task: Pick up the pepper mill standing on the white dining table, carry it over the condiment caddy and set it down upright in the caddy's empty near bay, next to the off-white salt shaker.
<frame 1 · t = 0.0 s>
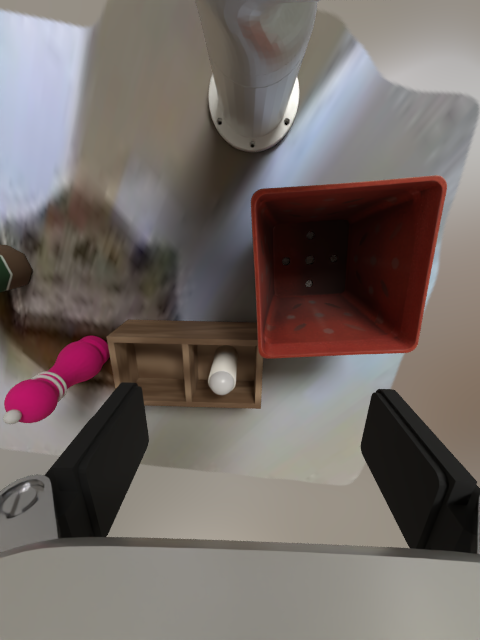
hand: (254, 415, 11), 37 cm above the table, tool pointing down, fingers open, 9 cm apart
plant pot: (307, 260, 45), on the table
beer bottle: (13, 266, 46), on the table
caddy: (195, 352, 51), on the table
salt shaker: (226, 355, 50), point 1 cm above the table, touching caddy
pepper mill: (95, 349, 51), on the table
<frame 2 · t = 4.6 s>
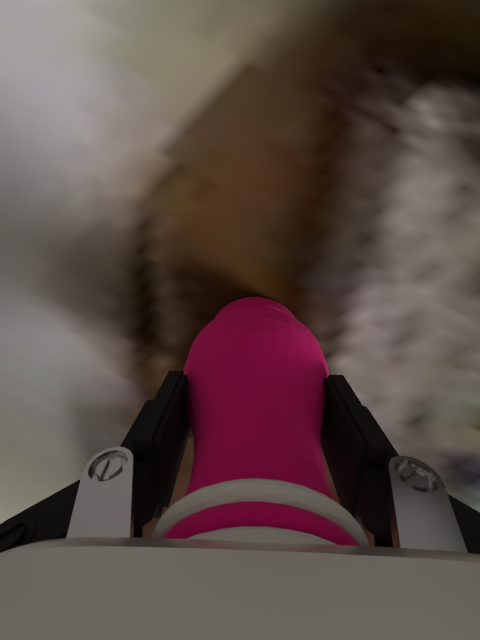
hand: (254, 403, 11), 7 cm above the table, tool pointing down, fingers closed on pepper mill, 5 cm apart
caddy: (247, 535, 24), on the table
pepper mill: (254, 339, 18), on the table, touching gripper
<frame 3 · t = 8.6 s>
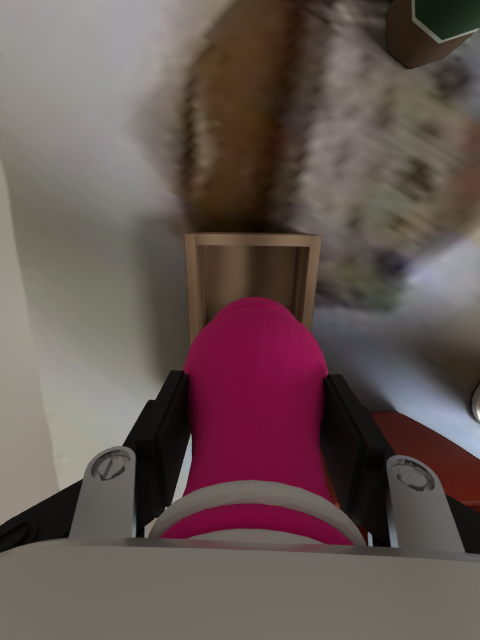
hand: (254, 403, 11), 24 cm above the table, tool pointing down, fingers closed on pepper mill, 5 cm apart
plant pot: (354, 441, 43), on the table
beer bottle: (421, 23, 25), on the table
caddy: (248, 326, 36), on the table
pepper mill: (254, 339, 18), point 18 cm above the table, touching gripper
when the fingers open (9 cm above the table, at t = 12.1 s): pepper mill drops 1 cm, resting on caddy.
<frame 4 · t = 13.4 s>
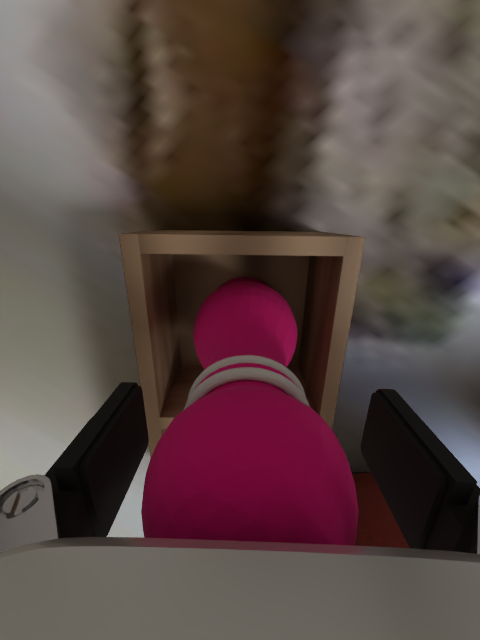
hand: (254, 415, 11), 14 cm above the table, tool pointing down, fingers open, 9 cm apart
plant pot: (380, 504, 33), on the table
caddy: (239, 365, 26), on the table
pepper mill: (244, 311, 23), point 1 cm above the table, touching caddy
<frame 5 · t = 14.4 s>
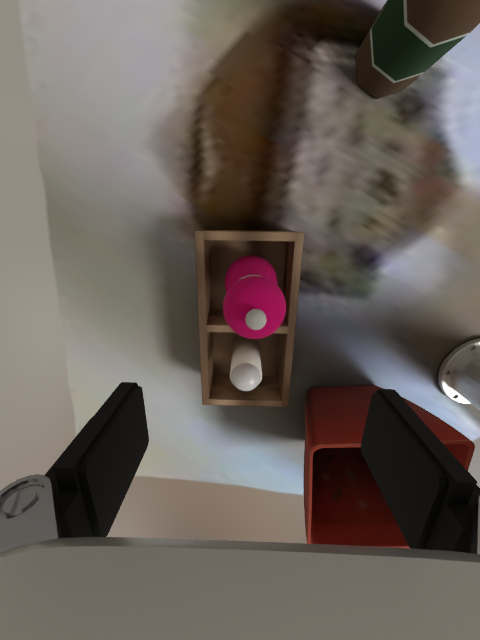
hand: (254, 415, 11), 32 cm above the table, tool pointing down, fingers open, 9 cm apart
plant pot: (339, 412, 50), on the table
beer bottle: (383, 63, 32), on the table
caddy: (246, 311, 43), on the table
salt shaker: (246, 346, 44), point 1 cm above the table, touching caddy
pepper mill: (250, 276, 40), point 1 cm above the table, touching caddy
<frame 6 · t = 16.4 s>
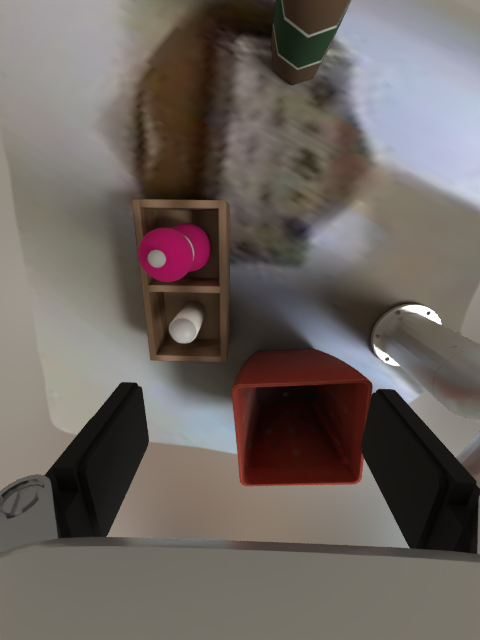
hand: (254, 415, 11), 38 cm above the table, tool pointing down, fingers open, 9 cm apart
plant pot: (284, 375, 54), on the table
beer bottle: (297, 53, 36), on the table
caddy: (194, 279, 47), on the table
salt shaker: (194, 312, 49), point 1 cm above the table, touching caddy
pepper mill: (193, 246, 45), point 1 cm above the table, touching caddy
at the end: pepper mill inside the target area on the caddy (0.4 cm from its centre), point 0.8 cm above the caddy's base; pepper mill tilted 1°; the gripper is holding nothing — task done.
